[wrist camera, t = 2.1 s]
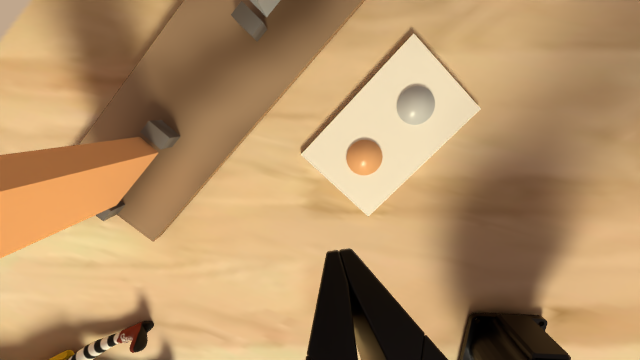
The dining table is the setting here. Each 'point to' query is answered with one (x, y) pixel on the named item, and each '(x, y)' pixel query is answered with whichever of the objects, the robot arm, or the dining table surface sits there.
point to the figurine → (111, 343)
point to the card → (391, 126)
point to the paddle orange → (64, 187)
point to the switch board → (208, 94)
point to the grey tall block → (265, 5)
